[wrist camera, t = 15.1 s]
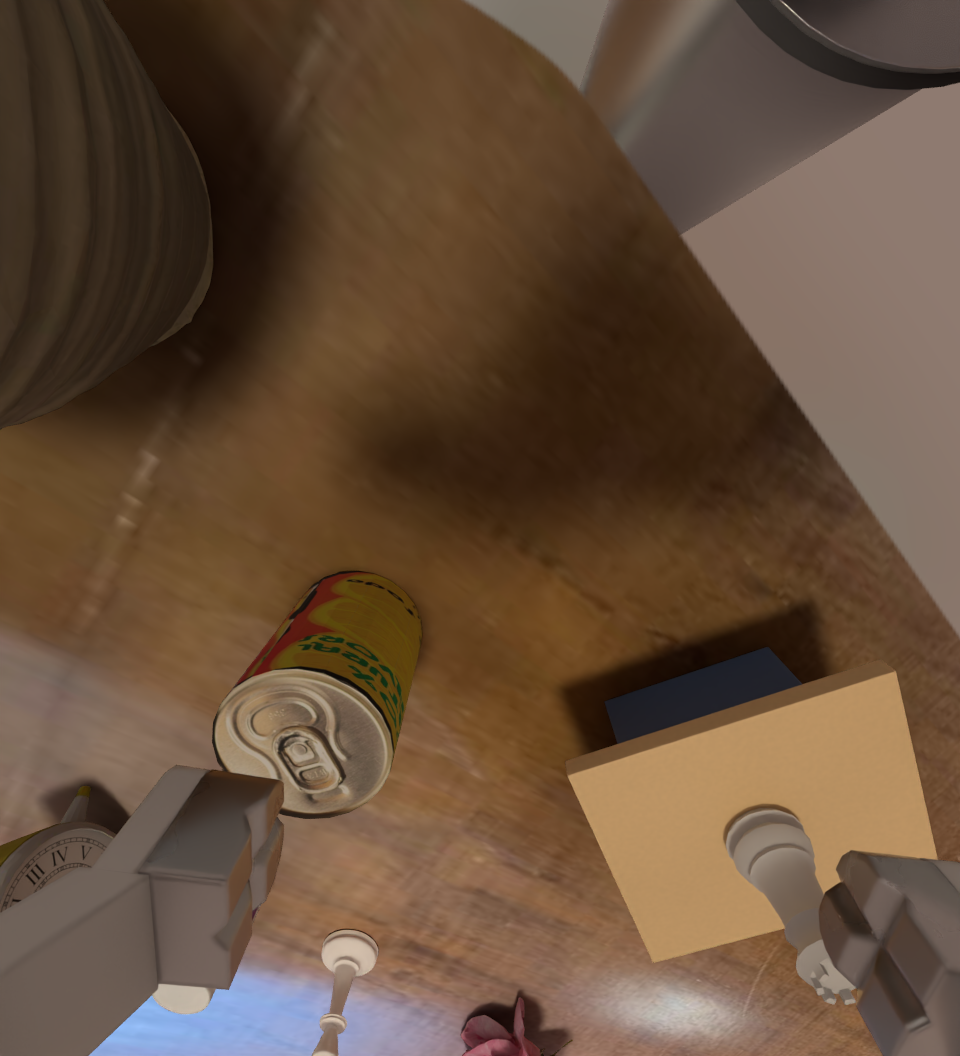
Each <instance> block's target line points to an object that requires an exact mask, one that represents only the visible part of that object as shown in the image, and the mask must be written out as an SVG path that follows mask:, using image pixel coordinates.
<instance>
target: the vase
mask: <svg viewBox="0 0 960 1056" xmlns="http://www.w3.org/2000/svg"><path fill="white" fill-rule="evenodd" d="M212 270H213V237H212V220H211V209H210V199H209V195H208V191H207V186H206V182H205V178H204V174H203V171H202V168H201V165H200V163H199V160H198V157H197V155H196V153H195V151H194V149H193V147H192V144H191V142H190V140H189V138H188V136H187V135H186V133H185V132H184V130H183V129H182V128H181V126H180V125H179V123H178V122H177V120H176V119H175V118H174V117H173V115H172V114H171V113H170V111H169V110H168V109H167V107H166V106H165V104H164V102H163V101H162V99H161V97H160V95H159V93H158V91H157V89H156V87H155V86H154V84H153V83H152V81H151V80H150V78H149V77H148V75H147V73H146V71H145V69H144V68H143V66H142V64H141V62H140V60H139V58H138V56H137V55H136V53H135V51H134V49H133V47H132V45H131V43H130V42H129V40H128V38H127V36H126V34H125V33H124V32H123V30H122V29H121V28H120V26H119V25H118V24H117V22H116V21H115V20H114V18H113V16H112V15H111V13H110V11H109V9H108V8H107V6H106V4H105V3H104V1H103V0H0V429H2V428H4V427H6V426H11V425H17V424H22V423H25V422H27V421H29V420H32V419H34V418H37V417H39V416H42V415H44V414H46V413H49V412H51V411H54V410H56V409H59V408H61V407H62V406H64V405H65V404H66V403H68V402H69V401H71V400H72V399H74V398H75V397H77V396H78V395H79V394H82V393H84V392H86V391H88V390H90V389H92V388H94V387H96V386H97V385H98V384H100V383H101V382H102V381H103V380H105V379H106V378H107V377H108V376H110V375H111V374H112V373H113V372H115V371H116V370H118V369H120V368H121V367H123V366H125V365H127V364H128V363H130V362H132V361H133V360H134V359H135V358H136V357H137V356H138V355H139V354H141V353H143V352H144V351H145V350H146V349H148V348H149V347H150V346H154V345H156V344H158V343H160V342H161V341H163V340H165V339H166V338H168V337H170V336H171V335H173V334H175V333H176V332H177V331H178V330H180V329H181V328H182V327H183V326H184V325H185V324H187V323H191V320H192V318H193V315H194V313H195V312H196V310H197V309H198V308H199V306H200V305H201V303H202V302H203V299H204V297H205V295H206V292H207V290H208V288H209V285H210V282H211V276H212Z"/></svg>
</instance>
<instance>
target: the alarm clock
mask: <svg viewBox="0 0 960 1056" xmlns="http://www.w3.org/2000/svg"><path fill="white" fill-rule="evenodd" d="M90 790H91V787H89V786H82V787H81V788H80V789H79V791H78V793H77V795H76V796H75V798H74V800H73V802H72V804H71V805H70V807H69V809H68V811H67V812H66V814H65V816H64V818H63V819H62V821H61V823H60V824H57V825H53V826H51V827H48V828H45V829H43V830H40V831H37V832H35V833H32V834H29V835H27V836H24V837H21V838H19V839H16V840H13V841H11V842H8V843H6V844H3V845H1V846H0V913H1V912H2V911H4V910H6V909H8V908H9V907H11V906H13V905H14V904H16V903H18V902H20V901H21V900H23V899H25V898H26V897H28V896H30V895H31V894H33V893H35V892H37V891H38V890H40V889H42V888H43V887H45V886H47V885H49V884H50V883H52V882H54V881H55V880H57V879H59V878H60V877H62V876H64V875H66V874H67V873H69V872H71V871H72V870H74V869H76V868H78V867H89V868H91V867H92V866H93V865H94V863H95V862H96V861H97V860H98V858H99V857H100V856H101V854H102V853H103V852H104V851H105V849H106V848H107V847H108V845H109V844H110V843H111V842H112V840H113V839H114V838H115V836H116V834H115V833H113V832H112V831H110V830H108V829H107V828H105V827H103V826H101V825H98V824H94V823H91V822H85V821H86V814H87V807H88V800H89V796H90Z"/></svg>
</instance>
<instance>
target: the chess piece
mask: <svg viewBox="0 0 960 1056" xmlns="http://www.w3.org/2000/svg"><path fill="white" fill-rule="evenodd" d="M377 957H378V947H377V945H376V943H375V941H374V940H373V939H372V938H371V937H369V936H368V935H366V934H364V933H362V932H359V931H355V930H340V931H337V932H334V933H332V934H330V935H329V936H328V937H327V938H326V939H325V941H324V943H323V949H322V960H323V962H324V964H325V966H326V967H327V968H328V969H329V970H330V971H332V972H334V974H335V978H334V986H333V993H332V1000H331V1006H330V1013H328V1014H325V1015H323V1016H322V1017H321V1019H320V1028H321V1029H322V1030H323V1031H324V1034H323V1035H322V1037H321V1039H320V1041H319V1043H318V1045H317V1047H316V1048H315V1050H314V1052H313V1054H312V1056H338V1036H337V1034H340V1033H342V1032H343V1031H344V1030H345V1028H346V1026H347V1021H346V1019H345V1018H344V1017H343V1016H341V1015H342V1012H343V1008H344V1005H345V1002H346V999H347V996H348V993H349V990H350V987H351V984H352V981H353V979H354V977H357V976H361V975H364V974H366V973H368V972H369V971H370V970H371V969H372V968H373V967H374V965H375V963H376V959H377Z"/></svg>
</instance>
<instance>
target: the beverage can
mask: <svg viewBox="0 0 960 1056" xmlns="http://www.w3.org/2000/svg"><path fill="white" fill-rule="evenodd" d="M422 635H423V633H422V625H421V618H420V616H419V614H418V611H417V609H416V606H415V604H414V603H413V602H412V600H411V599H410V598H409V597H408V595H407V594H406V593H405V592H404V591H403V590H402V589H401V588H399V587H398V586H397V585H395V584H394V583H393V582H392V581H390V580H387V579H385V578H383V577H381V576H378V575H376V574H372V573H367V572H361V571H348V572H339V573H336V574H333V575H330V576H327V577H325V578H323V579H322V580H320V581H319V582H317V583H315V584H314V585H312V586H311V588H310V589H309V590H308V591H307V592H306V594H305V595H304V596H303V597H302V598H301V600H300V601H299V602H298V604H297V605H296V606H295V608H294V609H293V610H292V611H291V613H290V614H289V615H288V617H287V618H286V619H285V621H284V622H283V623H282V624H281V626H280V627H279V628H278V630H277V631H276V632H275V634H274V635H273V636H272V638H271V639H270V640H269V641H268V643H267V644H266V645H265V647H264V648H263V649H262V651H261V652H260V653H259V654H258V656H257V657H256V658H255V660H254V661H253V662H252V664H251V665H250V666H249V667H248V669H247V670H246V671H245V673H244V674H243V675H242V677H241V678H240V679H239V680H238V682H237V683H236V684H235V686H234V687H233V688H232V690H231V691H230V692H229V694H228V695H227V696H226V697H225V699H224V700H223V701H222V703H221V704H220V706H219V709H218V711H217V714H216V716H215V719H214V721H213V735H212V743H213V747H214V751H215V754H216V758H217V762H218V763H219V765H220V767H221V768H222V770H223V771H225V772H231V773H238V774H245V775H251V776H258V777H264V778H271V779H278V780H281V781H282V782H284V803H283V805H282V807H281V809H280V811H279V814H282V815H286V816H292V817H298V818H304V819H317V818H331V817H334V816H338V815H342V814H345V813H349V812H351V811H353V810H355V809H356V808H358V807H360V806H362V805H364V804H366V803H367V802H368V801H369V800H370V799H371V798H372V797H373V796H374V795H375V794H376V793H377V792H378V791H379V790H380V789H381V788H382V786H383V784H384V782H385V781H386V779H387V777H388V775H389V773H390V770H391V766H392V762H393V758H394V753H395V749H396V745H397V741H398V737H399V733H400V729H401V725H402V721H403V716H404V712H405V708H406V704H407V700H408V696H409V692H410V688H411V684H412V680H413V675H414V671H415V667H416V663H417V659H418V655H419V651H420V646H421V640H422Z"/></svg>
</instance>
